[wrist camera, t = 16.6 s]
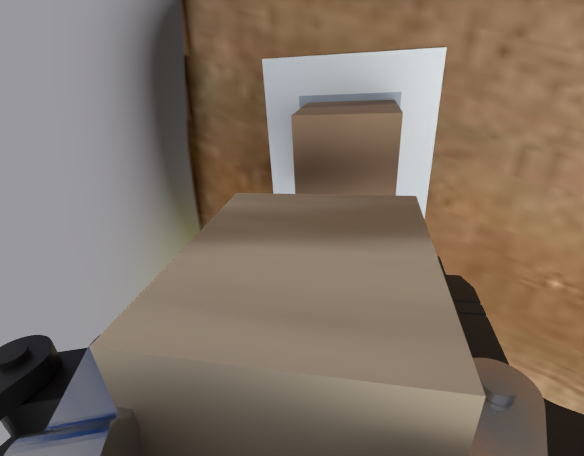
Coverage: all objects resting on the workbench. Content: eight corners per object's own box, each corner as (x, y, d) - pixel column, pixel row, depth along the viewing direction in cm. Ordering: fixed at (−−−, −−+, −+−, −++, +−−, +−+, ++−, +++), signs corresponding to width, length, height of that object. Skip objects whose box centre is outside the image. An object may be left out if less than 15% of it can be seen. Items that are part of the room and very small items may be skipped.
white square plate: (263, 59, 24) (262, 59, 24) (445, 47, 21) (446, 47, 21) (276, 214, 29) (275, 216, 29) (423, 218, 27) (424, 220, 26)
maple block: (236, 192, 10) (88, 347, 5) (416, 196, 9) (486, 396, 4) (254, 324, 12) (168, 528, 7) (399, 338, 11) (429, 590, 6)
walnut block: (307, 102, 24) (291, 115, 19) (394, 99, 23) (402, 112, 18) (310, 182, 27) (296, 213, 22) (388, 183, 26) (393, 216, 20)
